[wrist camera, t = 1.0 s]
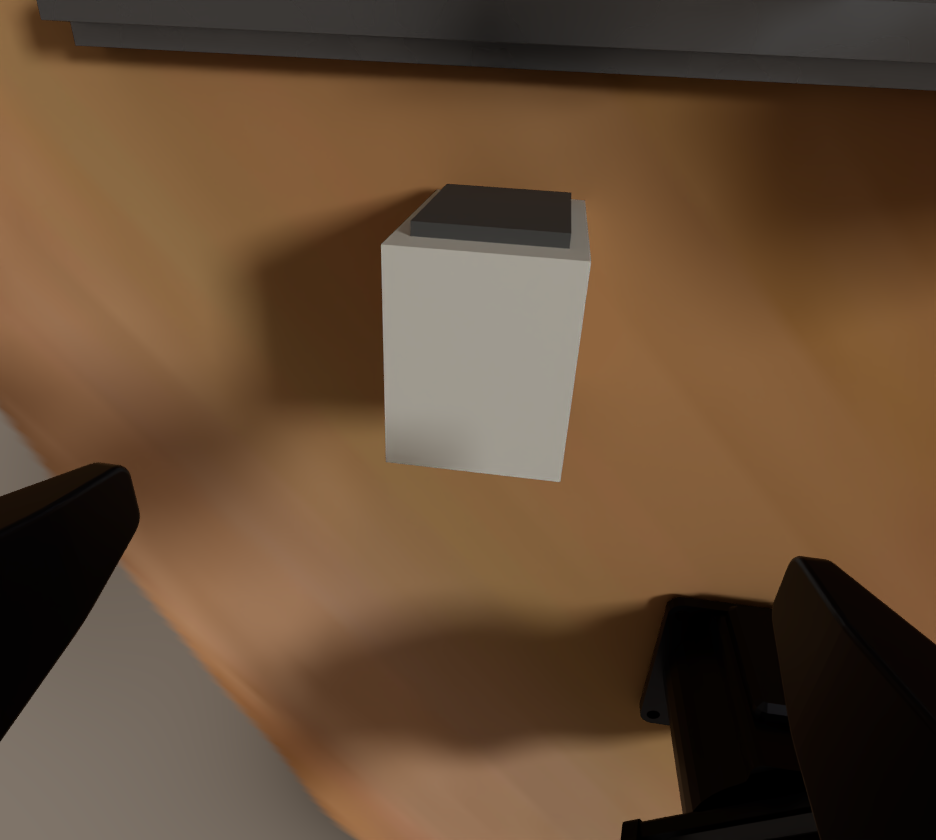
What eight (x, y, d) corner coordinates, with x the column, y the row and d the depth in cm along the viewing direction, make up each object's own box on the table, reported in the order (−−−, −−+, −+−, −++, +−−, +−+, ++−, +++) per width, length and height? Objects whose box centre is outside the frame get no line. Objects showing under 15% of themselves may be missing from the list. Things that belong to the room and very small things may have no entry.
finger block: (562, 370, 20) (560, 481, 14) (433, 357, 20) (385, 462, 15) (586, 188, 17) (593, 245, 12) (437, 177, 17) (380, 228, 12)
